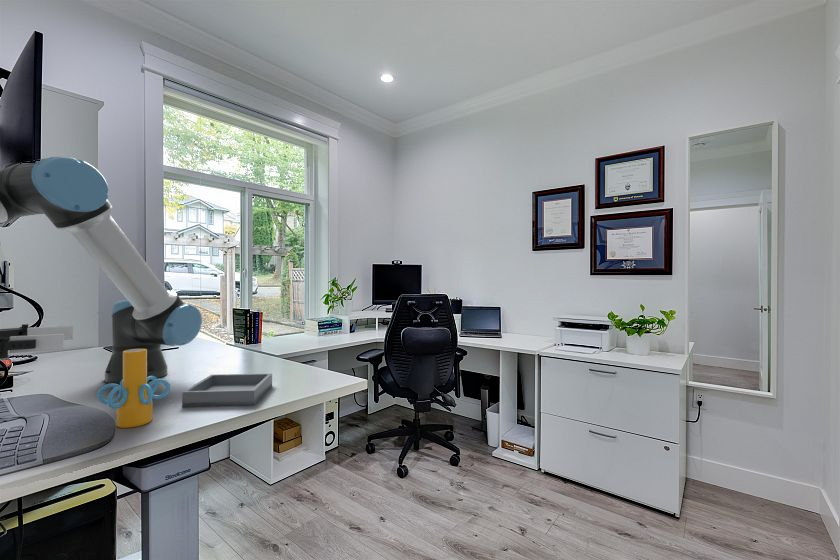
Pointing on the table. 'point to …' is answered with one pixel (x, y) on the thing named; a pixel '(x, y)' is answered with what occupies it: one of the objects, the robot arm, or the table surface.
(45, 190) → the robot arm
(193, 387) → the tray
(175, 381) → the table surface
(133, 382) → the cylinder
